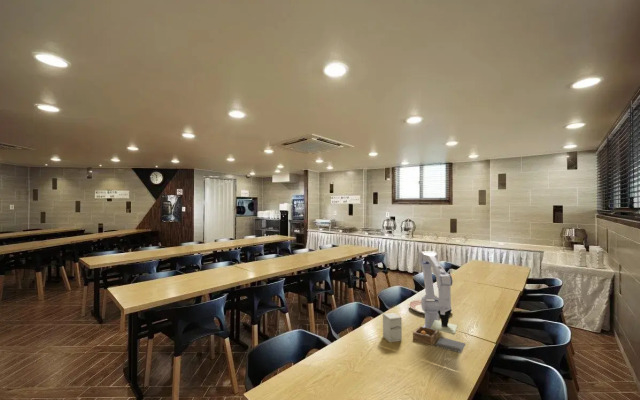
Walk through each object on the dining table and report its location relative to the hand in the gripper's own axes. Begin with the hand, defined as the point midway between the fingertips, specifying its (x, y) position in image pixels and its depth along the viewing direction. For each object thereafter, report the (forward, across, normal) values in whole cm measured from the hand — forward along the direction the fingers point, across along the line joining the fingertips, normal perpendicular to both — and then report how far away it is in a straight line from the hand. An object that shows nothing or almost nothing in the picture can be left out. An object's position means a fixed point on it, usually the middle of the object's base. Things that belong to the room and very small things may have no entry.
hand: (445, 324), depth 140 cm
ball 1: (+10, -2, -11) cm, 15 cm away
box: (+10, 0, -10) cm, 14 cm away
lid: (+2, 0, 0) cm, 2 cm away
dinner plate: (+10, -45, -16) cm, 49 cm away
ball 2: (+10, +1, -8) cm, 13 cm away
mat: (+10, 0, +2) cm, 10 cm away
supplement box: (+10, +9, -25) cm, 28 cm away
